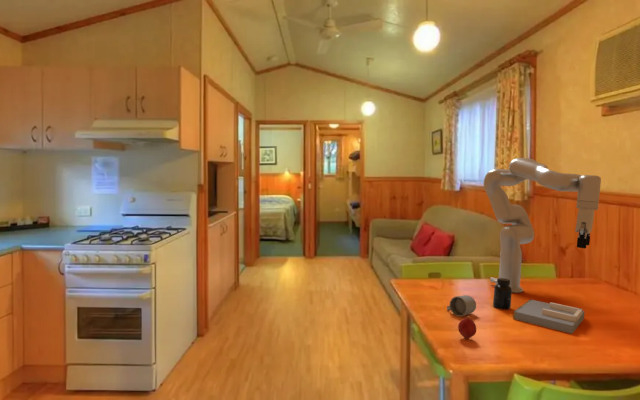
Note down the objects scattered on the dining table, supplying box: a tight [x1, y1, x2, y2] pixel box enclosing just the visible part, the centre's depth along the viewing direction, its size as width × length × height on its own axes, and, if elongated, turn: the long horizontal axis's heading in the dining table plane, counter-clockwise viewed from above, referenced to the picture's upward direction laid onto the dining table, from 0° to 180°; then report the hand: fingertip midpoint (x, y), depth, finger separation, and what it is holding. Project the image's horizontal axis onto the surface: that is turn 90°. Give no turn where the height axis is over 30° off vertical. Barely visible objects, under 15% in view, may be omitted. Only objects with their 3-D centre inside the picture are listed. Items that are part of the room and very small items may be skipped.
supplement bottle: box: [492, 277, 513, 311], centre depth 175 cm, size 7×7×12 cm
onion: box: [457, 315, 477, 340], centre depth 140 cm, size 6×6×8 cm
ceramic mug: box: [446, 294, 477, 317], centre depth 166 cm, size 11×8×8 cm
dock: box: [513, 299, 585, 335], centre depth 163 cm, size 20×22×5 cm
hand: (583, 246), depth 172 cm, fingers open, 9 cm apart
